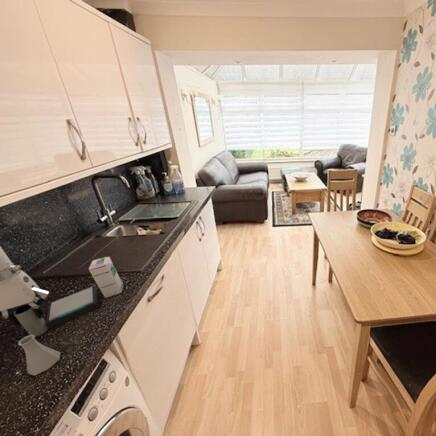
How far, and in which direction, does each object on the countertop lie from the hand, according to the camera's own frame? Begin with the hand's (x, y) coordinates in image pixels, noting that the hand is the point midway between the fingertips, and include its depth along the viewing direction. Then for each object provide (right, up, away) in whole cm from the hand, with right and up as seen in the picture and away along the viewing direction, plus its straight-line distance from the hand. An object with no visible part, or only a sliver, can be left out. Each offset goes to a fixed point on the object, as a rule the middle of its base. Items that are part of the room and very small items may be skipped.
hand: (30, 318), depth 77 cm
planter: (0, -5, +3) cm, 6 cm away
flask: (+13, -10, -8) cm, 18 cm away
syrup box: (+13, +3, +18) cm, 23 cm away
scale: (+4, -1, +11) cm, 12 cm away
